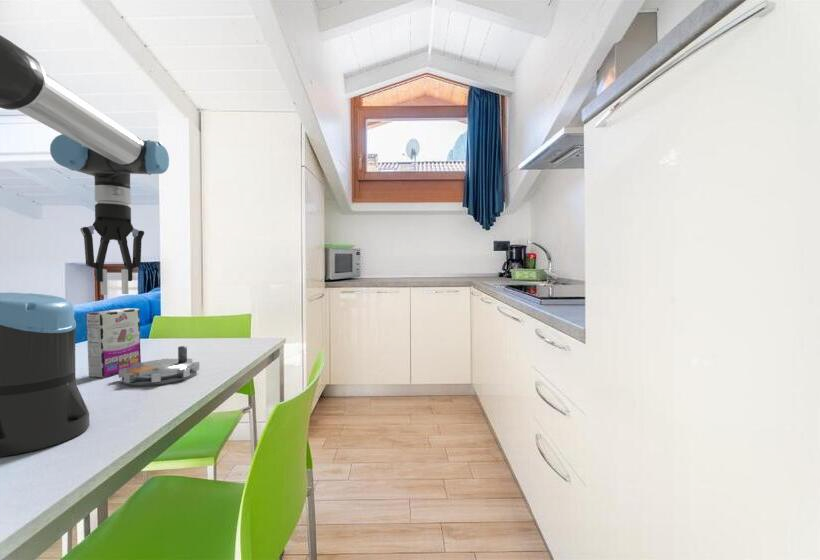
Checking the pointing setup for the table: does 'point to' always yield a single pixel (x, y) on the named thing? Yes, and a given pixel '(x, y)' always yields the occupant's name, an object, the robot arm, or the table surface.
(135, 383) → the bearing base
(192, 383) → the table surface
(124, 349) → the candy bar box
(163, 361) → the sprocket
